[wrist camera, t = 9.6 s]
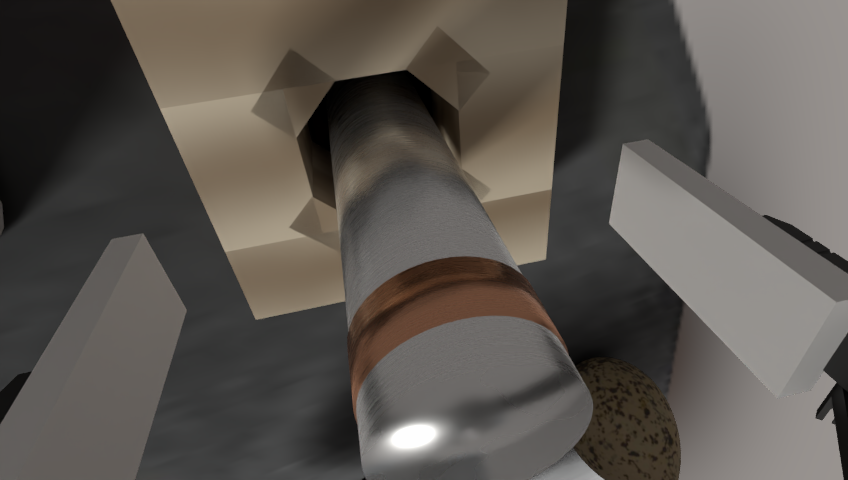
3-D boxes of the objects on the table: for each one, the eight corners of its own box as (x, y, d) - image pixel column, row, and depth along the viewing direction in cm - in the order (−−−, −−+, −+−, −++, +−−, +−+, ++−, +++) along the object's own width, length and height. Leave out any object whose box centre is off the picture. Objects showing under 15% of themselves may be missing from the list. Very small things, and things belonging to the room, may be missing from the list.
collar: (507, 203, 25) (545, 259, 21) (264, 249, 24) (255, 319, 20) (513, -93, 17) (575, -92, 13) (150, -47, 16) (97, -31, 12)
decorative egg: (625, 321, 33) (724, 452, 25) (632, 374, 37) (719, 500, 30) (532, 359, 34) (601, 499, 26) (550, 407, 38) (614, 540, 30)
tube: (422, 140, 22) (580, 471, 9) (335, 156, 21) (379, 525, 9) (412, 50, 19) (613, 336, 7) (315, 66, 19) (333, 401, 6)
